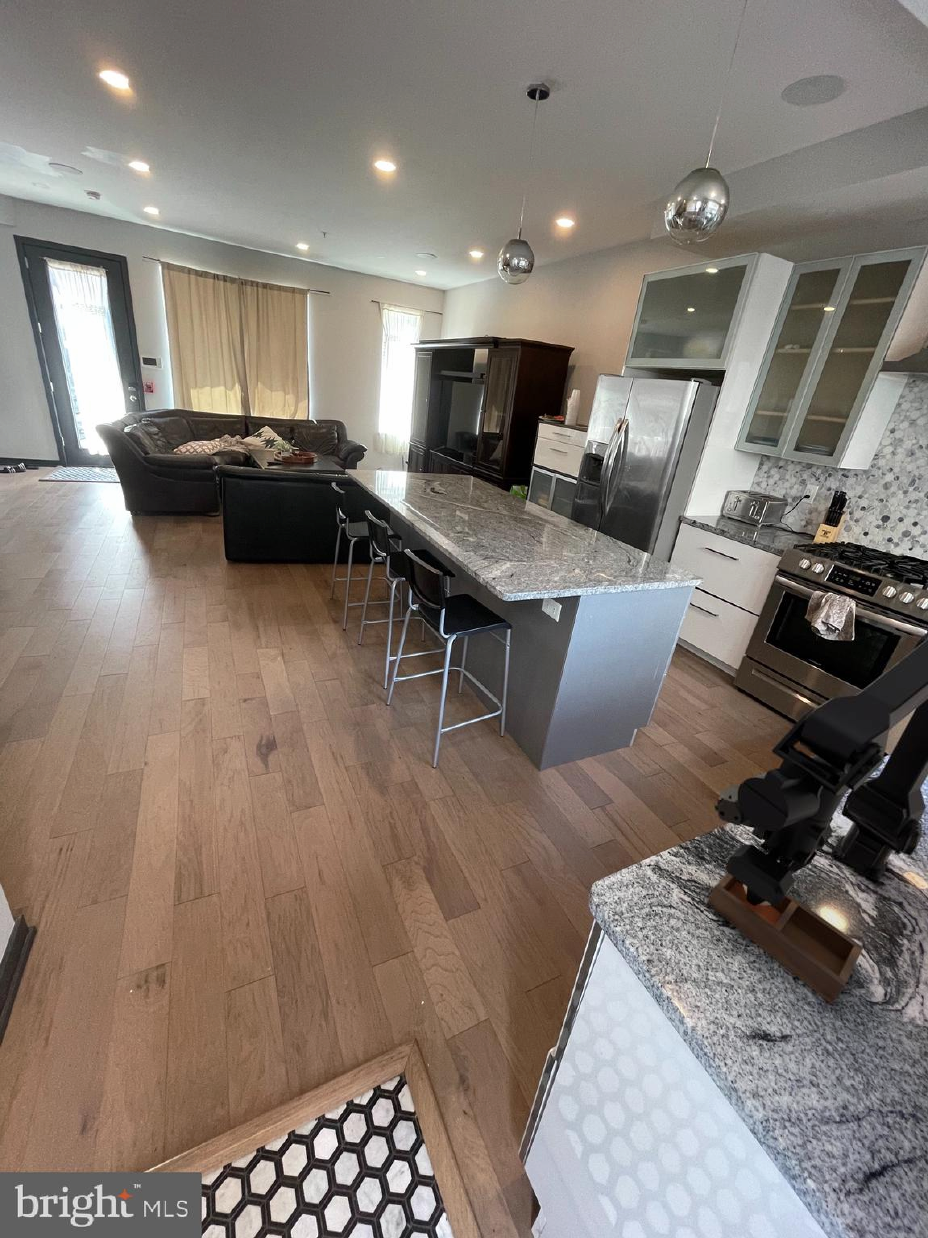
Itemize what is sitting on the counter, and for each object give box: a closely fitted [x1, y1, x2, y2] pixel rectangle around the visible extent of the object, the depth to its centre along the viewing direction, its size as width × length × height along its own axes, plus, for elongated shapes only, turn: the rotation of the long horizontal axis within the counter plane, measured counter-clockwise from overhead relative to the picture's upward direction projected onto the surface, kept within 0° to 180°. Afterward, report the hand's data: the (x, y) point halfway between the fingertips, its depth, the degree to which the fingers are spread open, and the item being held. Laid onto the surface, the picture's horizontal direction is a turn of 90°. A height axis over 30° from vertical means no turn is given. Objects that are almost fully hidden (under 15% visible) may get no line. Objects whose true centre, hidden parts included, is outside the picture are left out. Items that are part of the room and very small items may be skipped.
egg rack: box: [706, 872, 864, 1005], centre depth 66 cm, size 8×15×4 cm, turn 39°
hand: (758, 893), depth 68 cm, fingers closed on egg, 4 cm apart
